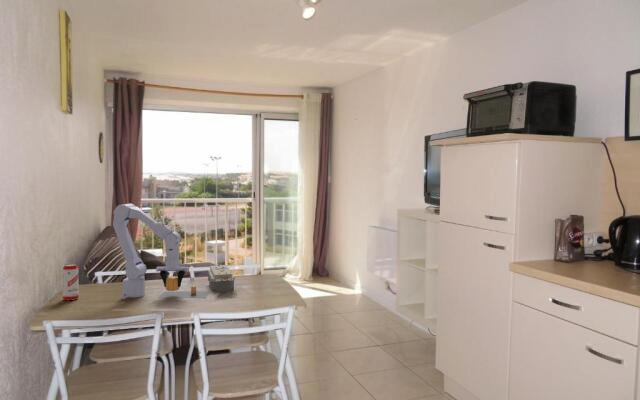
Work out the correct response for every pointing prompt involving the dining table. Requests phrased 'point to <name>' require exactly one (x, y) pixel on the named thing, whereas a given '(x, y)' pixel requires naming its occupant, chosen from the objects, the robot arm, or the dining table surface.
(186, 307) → the dining table surface
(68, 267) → the beer can
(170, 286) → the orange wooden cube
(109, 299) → the dining table surface
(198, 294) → the wiring board
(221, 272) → the gray toolbox
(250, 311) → the dining table surface
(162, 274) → the robot arm
